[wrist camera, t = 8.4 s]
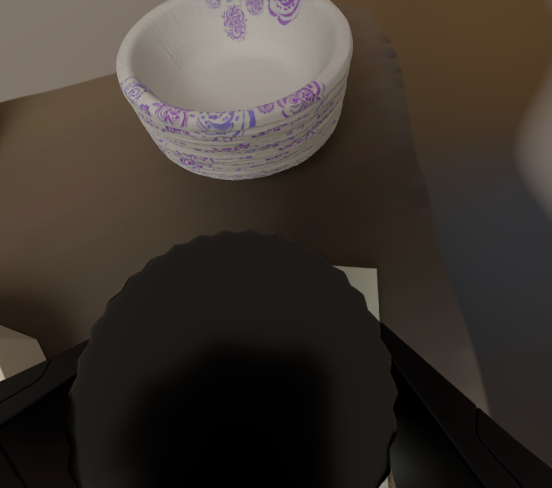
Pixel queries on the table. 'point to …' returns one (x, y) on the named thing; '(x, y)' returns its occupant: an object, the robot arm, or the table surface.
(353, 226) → the table surface
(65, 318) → the table surface
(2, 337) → the ring holder
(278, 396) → the supplement bottle
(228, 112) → the paper bowls
